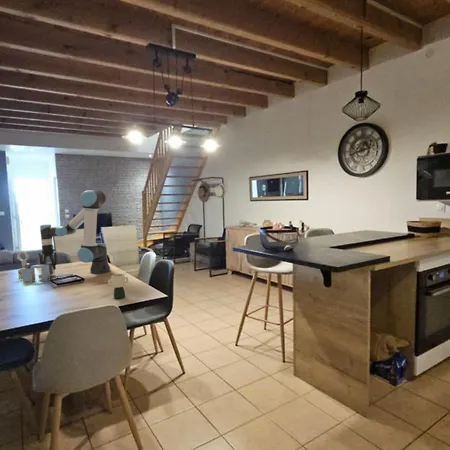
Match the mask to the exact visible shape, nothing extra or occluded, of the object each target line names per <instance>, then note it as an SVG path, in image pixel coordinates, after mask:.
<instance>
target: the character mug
mask: <svg viewBox="0 0 450 450" xmlns="http://www.w3.org/2000/svg"><path fill="white" fill-rule="evenodd" d="M107 282H108V283H107V284H108V287H109V286H112V287H113V288H114V289H113V298H114V299H122V298H125V297H126V292H125V289H124V287H125V286H126V283H129V277H128V276H125V274H124V273H117V274H113V275H111V278H110V279H109V280H108V281H107Z"/></svg>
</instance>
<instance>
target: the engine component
mask: <svg viewBox="0 0 450 450" xmlns="http://www.w3.org/2000/svg"><path fill="white" fill-rule="evenodd" d="M21 254H24V255H25V258H24V259H23V258H22V257H21ZM16 258H17V260H19V261H20V262H21V268H19V269H17V275H18V279H19V278H23V273H22V269H23V268H25V267H24V266H25V265H26V264H28V262H27V261H28V260H29V258H30V255H29V253H28V252H27V251H25V250H22V251H19V252H18V253H17V255H16Z"/></svg>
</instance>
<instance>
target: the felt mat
mask: <svg viewBox="0 0 450 450" xmlns="http://www.w3.org/2000/svg"><path fill="white" fill-rule="evenodd" d="M72 275H73V273H62V274H57V275H56V276H54V277H53V278H56V277H57V278H58V277H64V276H69V277H70V276H72Z"/></svg>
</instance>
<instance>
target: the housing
mask: <svg viewBox="0 0 450 450" xmlns="http://www.w3.org/2000/svg"><path fill="white" fill-rule="evenodd" d="M24 267H25V268H23V269H22V268H21V269H22V273H23V279H22V281H23V283H31V282H30V281H33V282H36V281H35V280H36V272H35V271H36V270H35V269H41V274H42V280H41V281H42V282H48V280H49V279H51V275H50V273H49V264H46V265H40V264H34V265H32V263H27V264H26V265H25V266H24ZM49 281H50V280H49Z"/></svg>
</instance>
